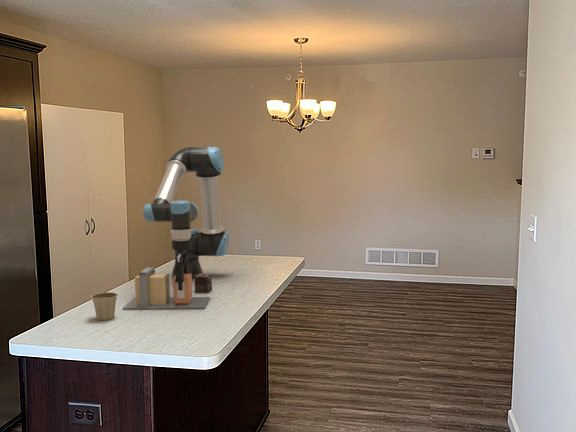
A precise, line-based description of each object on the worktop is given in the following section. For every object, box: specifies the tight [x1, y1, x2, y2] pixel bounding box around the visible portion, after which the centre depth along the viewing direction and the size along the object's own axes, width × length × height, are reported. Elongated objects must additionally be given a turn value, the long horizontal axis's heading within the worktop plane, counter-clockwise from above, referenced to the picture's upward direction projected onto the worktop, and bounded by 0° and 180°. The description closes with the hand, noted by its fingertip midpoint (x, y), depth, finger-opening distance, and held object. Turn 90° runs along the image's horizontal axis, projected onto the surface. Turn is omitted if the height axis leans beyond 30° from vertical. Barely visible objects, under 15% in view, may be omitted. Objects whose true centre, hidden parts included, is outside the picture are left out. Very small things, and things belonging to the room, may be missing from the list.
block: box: [172, 274, 193, 304], centre depth 224 cm, size 7×6×10 cm
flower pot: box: [90, 292, 118, 321], centre depth 205 cm, size 9×9×9 cm
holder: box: [122, 266, 211, 311], centre depth 223 cm, size 16×32×14 cm, turn 89°
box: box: [194, 273, 213, 294], centre depth 245 cm, size 6×6×7 cm
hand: (183, 295), depth 224 cm, fingers closed on block, 7 cm apart
